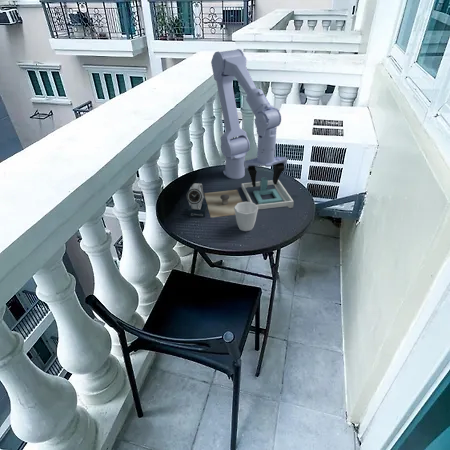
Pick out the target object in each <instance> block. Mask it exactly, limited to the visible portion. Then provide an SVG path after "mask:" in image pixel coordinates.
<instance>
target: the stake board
mask: <svg viewBox="0 0 450 450" xmlns="http://www.w3.org/2000/svg"><path fill="white" fill-rule="evenodd" d="M203 196H204V199H205V202H206V204H208V213H209V217H210V218H218V217H219V218H221V217H229V216H236V215H235V210H234V207H235V206H236V205H237V204H238V203H241V202H243V199H242V198H241V195H240V193H239V191H238V189H230V190H222V191H212V192H203Z"/></svg>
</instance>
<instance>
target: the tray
mask: <svg viewBox="0 0 450 450" xmlns="http://www.w3.org/2000/svg"><path fill="white" fill-rule="evenodd" d="M272 185H273V186H274V189H276V191H277V192H278V194H279V195H280V197H281V198H282V200H283V201H282V202H276V203H267V204H258V203H257V204H256V206H257V207H258V211H259V210H265V209H273V208H276V209H277V208H283V207H284V208H285V207H288V209H293V208H294V205H295V204H294V200H293V197H291V195H290V194H289V193H288V191H287V189H286V188H285V187H284V185H283V184H282V182H281V181H280V179H278V181H277V184H276V185H275V184H274V183H273V179H271V180H268V183H267V186H272ZM255 187H260V181H256V185H255ZM255 187H253V185H252V181H251V182H244V183H241V189H242V191H243V193H244V196H245V198H246V200H247V202H251V203H254V202H253V200H252V199H251V196H250V194H249V192H248V190H247V188H255Z"/></svg>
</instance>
